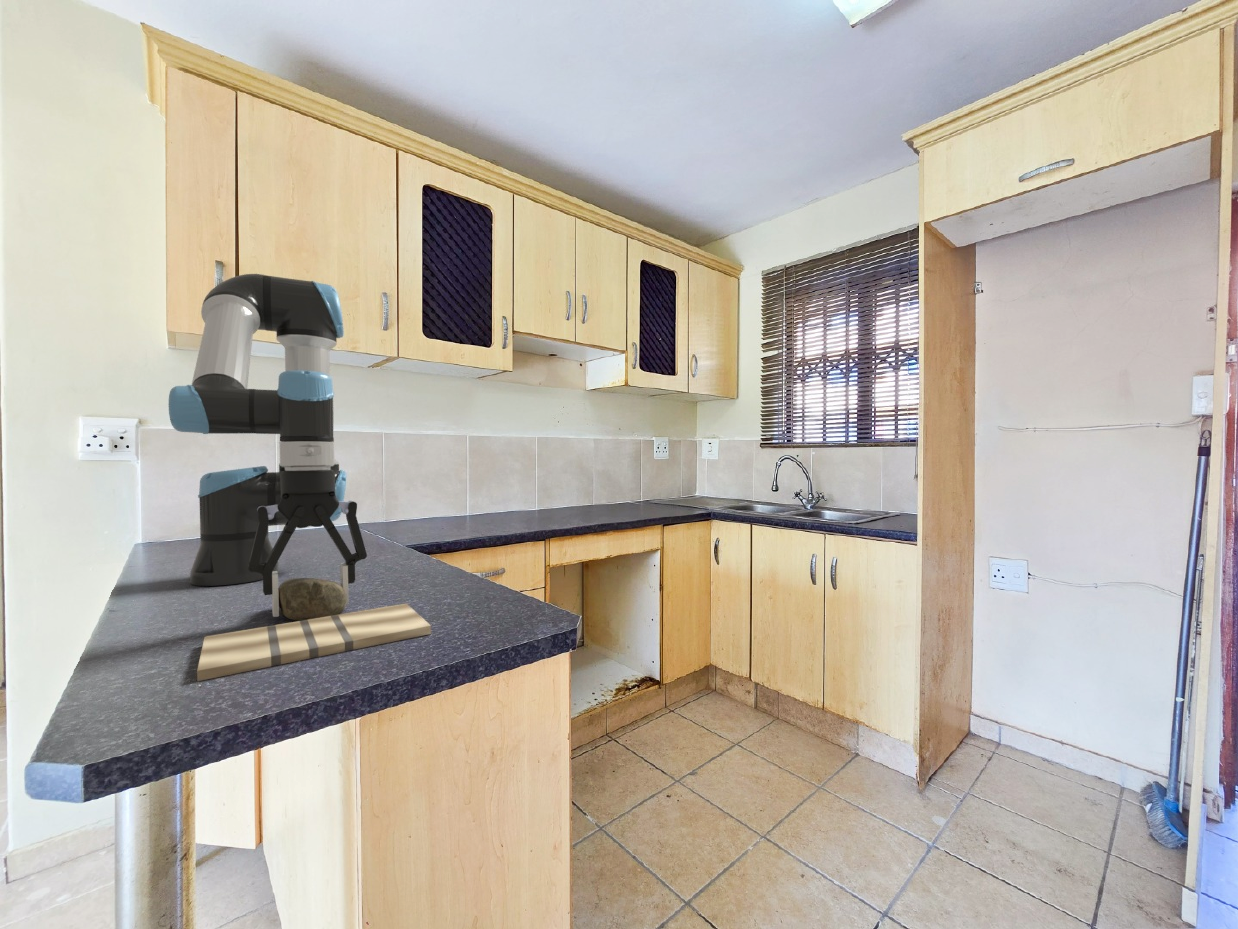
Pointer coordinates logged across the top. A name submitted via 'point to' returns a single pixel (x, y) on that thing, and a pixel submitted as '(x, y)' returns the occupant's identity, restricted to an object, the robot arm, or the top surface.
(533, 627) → the top surface
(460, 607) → the top surface
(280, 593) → the stone
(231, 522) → the robot arm
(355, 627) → the board
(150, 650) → the top surface
